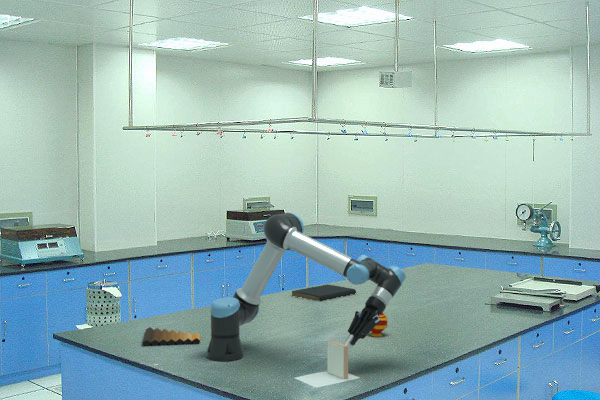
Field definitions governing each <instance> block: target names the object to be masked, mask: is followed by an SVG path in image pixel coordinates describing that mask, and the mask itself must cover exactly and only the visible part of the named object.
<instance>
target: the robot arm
mask: <svg viewBox="0 0 600 400" xmlns="http://www.w3.org/2000/svg"><path fill="white" fill-rule="evenodd" d="M304 231H305V225H304V222H303V219H301V217H300V216H299V215H298V214H296V213H293V212H284V213H279V214H274V215H271V216H270V217H269V218H267V219H266V221H265V222H264V225H263V233H264V236H265V239H266V243H265V245H264V247H262V251H261V252H260V254H259V256H258V257H257V259H256V261H255V263H254V264H253V267H252V268H251V270H250V272H249V274H248V276H247V278H246V280H245V281H244V283H243V285H242V287H239V288H237V289H236V291H235V292H234V294H233V296H231V297H230V296H229V297H227V296H226V297H225V296H224V297H222V298H216V299H215V300H214V301H212V302H211V306H210V332H211V333H210V336H211V337H210V341H209V344H208V346H207V347H208V348H207V351H206V357H207V359H209V360H212V361H217V362H218V361H219V362H229V361H237V360H240V359H242V358H244V357H245V353H244V352H245V350H244V348H243V347H244V346H243V344H242V341H241V337H240V326H243V325H245V324H249V323H250V322H252V321H253V320H254V319H255V318H257V315H259V312H260V305H261V298H260V297H261V295H262V294H263V292H264V290H265V289H266V287H267V284H268V283H269V281H270V279H271V277H273V274H274V272H275V270H276V269H277V267H278V265H279V263H280V261H281V260H282V258H283V256H284V254H285V253H286V252H288V251H294V252H296V253H297V254H299V255H301V256H303V257H306V258H307V259H310V260H311V261H313V262H316V263H317V264H318V265H322V266H323V267H324V268H327V269H329V270H331V271H332V272H335V273H337V274H339V275H341V276H343V277H345V278H347V280H348V282H349V283H351V285H355V286H357V285H362V284H365V283H366V282H367V281H371V282H372V283H374V284H376V286H375V288H374V290H372V293H371V294H370V296H369V297H368V298H367V300H366V301H365V303H364V305H365V307H363V308H362V310H361V311H358V310H356V311H355V313H354V317H353V319H352V321H351V323H350V325H349V328H348V329H347V333H349V335H348V337H347V338H346V340H345V342H344V343H343V344H344V345H347V346H348V353H350V352H351V351H350V350H351V349H352V348H353V346H355V345H356V344H357V342H358V340H360V339H362V340H363V339H365V338H366V337H367V336H368V335H369V334H370V332H371V330H372V329H373V328H374V327H375V326H376V325H377V324H378V323H380V322H381V320H380V319H379V315H381V314H382V313H384V311H385V310H386V308H387V306H389V304H390V303H391V301H392V299H393V298H394V296H395V295H396V294H397V292H398V291H399V290H400V288H401V286H402V285H403V283H404V281H405V280H406V278H407V277H406V273H405V271H404V270H403V269H402V268H400V267H399V266H396V265H390V267H386V266H385V265H383V264H381V263H379V262H378V261H376V260H374V259H373V258H372V257H369V256H367V255H366V254H361V255H359V257H358V258H357V260H356V259H354V258H352V257H350V256H349V255H347V254H345V253H342V252H341V251H338V250H336V249H334V248H333V247H330V246H328V245H327V244H325V243H322V242H320V241H318V240H316V239H314V238H313V237H310V236H309V235H307V234H304Z"/></svg>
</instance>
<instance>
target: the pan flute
mask: <svg viewBox="0 0 600 400" xmlns="http://www.w3.org/2000/svg"><path fill="white" fill-rule="evenodd" d="M200 343H201V335H200V334H199V333H197V332H195V333H193V334H192V333H190V332H189V331H187V332H185V333H184V332H183V331H181V330H179V331H178V332H177V331H176V330H174V329H171V330H170V331H169V330H167V329H166V328H164V329H162V330H161V329H160V328H158V327H156V328H155V329H153V328H152V327H151V326H149V327H148V328H146V329H145V332H144V336H143V340H142V345H143V347H150V346H151V347H158V346H161V347H163V346H164V347H165V346H167V345H168V346H175V345H177V346H183V345H185V346H186V345H189V346H190V345H200Z"/></svg>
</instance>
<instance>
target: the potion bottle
mask: <svg viewBox="0 0 600 400" xmlns="http://www.w3.org/2000/svg"><path fill="white" fill-rule="evenodd" d="M379 319H380V320H381V322H380V323H378V324H377V325H376V326H375V327H374V328H373V329H372V330H371V331H370V332H371V334H370V336H371V337H375V338H376V337H377V338H378V337H379V338H380V337H382V336H383V335H382V332H383V331H385V329H387V328H388V322H389V321H388V316H386V314H385V313H384V312H383V313H382V314H381V315H379Z"/></svg>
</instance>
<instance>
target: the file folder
mask: <svg viewBox="0 0 600 400" xmlns="http://www.w3.org/2000/svg"><path fill="white" fill-rule="evenodd" d="M355 293H356V294H357V290H356V289H354V288H351V287H346V286H345V287H344V286H339V285H334V284H324V285H323V284H322V285H319V286H318V285H317V286H312V287H306V288H302V289H297V290H291V296H292V297H293V296H297V297H296V298H298V297H302V298H301V299H304V298H307V299H306V300H310V299H312V300H311V301H315V300H318V301H317V302H323V300H324V301H328V300H327V299H329V300H333V299H332V298H334V299H337V298H336V297H339V298H342V297H341V296H343V297H346V296H345V295H348V296H351V295H350V294H353V295H356V294H355ZM319 300H320V301H319Z"/></svg>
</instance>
